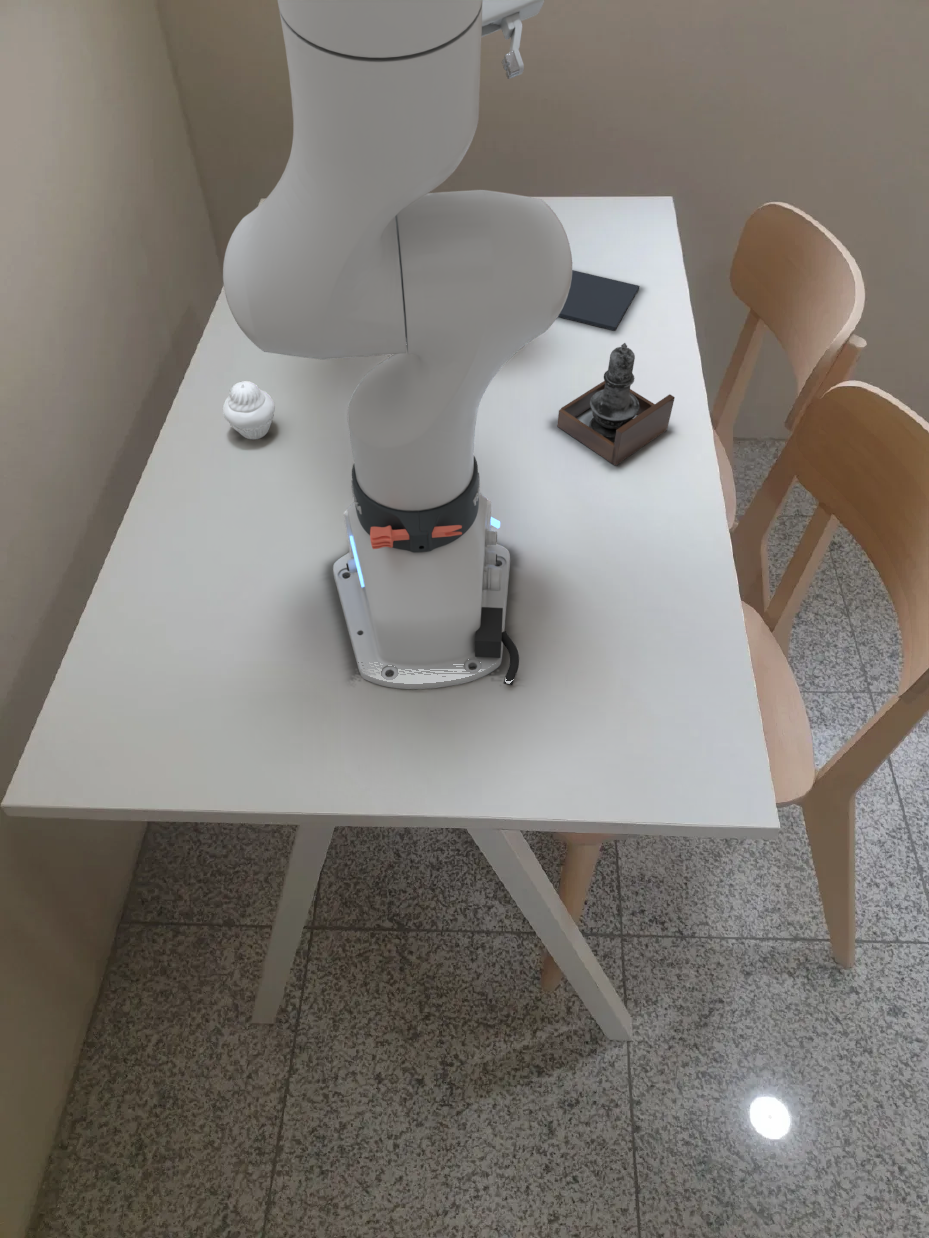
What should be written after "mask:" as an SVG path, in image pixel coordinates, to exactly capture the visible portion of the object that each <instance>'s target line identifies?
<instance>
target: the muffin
mask: <svg viewBox="0 0 929 1238" xmlns="http://www.w3.org/2000/svg"><path fill="white" fill-rule="evenodd" d="M275 411H276V404H275V400H274V399H273V398H272V396H271V395H270V394H269V393H268V392H267V391H265V390H263V389H260V387H259V385H257V383H255V382H252V381H250V380H248V381H247V380H243V381H239V382H236V383H235V384H233V385H232V386H231V388H230V389H229V396H228V397H226V399H225V401H224V402H223V406H222V414H223V417H224V418H225V420H226V421H227V422H228V424H229V426H231V428H232V429H233V430H235V431H236V432H238V433H239V434H240V435H241V436H242V437H243V438H245V439H248V440H251V441H252V440H259V439H261V438H263V437H265V436H266V435H267V434H268V433H269V429H270V427H271V425H272V423H273V420H274V416H275Z"/></svg>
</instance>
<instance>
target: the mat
mask: <svg viewBox="0 0 929 1238" xmlns="http://www.w3.org/2000/svg"><path fill="white" fill-rule="evenodd" d="M639 290H640V285H638V284H634V283H630V282H624V281H620V280H617V279H613V278H607V277H604V276H599V275H595V274H590V273H587V272H582V271H579V270H574V269H572V279H571V285H570V290H569V293H568V297H567V299H566V302H565V304H564V306H563V309H562V310H561V312H560V314H559V316H558V317H557V318H561V319H565V320H570V321H574V322H577V323H582V324H586V325H589V326H594V327H598V328H602V329H605V330H609V331H616V329H617V328H618V327H619V324H620V323H621V321H622V319H623V317H624V316H625V314H626V312H627V310H628V308H629V307H630V306H631V303H632V302H633V300H634V299H635V297H636V295H637V294H638V292H639Z"/></svg>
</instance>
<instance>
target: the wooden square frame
mask: <svg viewBox="0 0 929 1238" xmlns="http://www.w3.org/2000/svg"><path fill="white" fill-rule="evenodd" d="M604 388H605V381H604V380H603V381H602V382H600V383H599V384H597V385H595V386H594V387H592V388H591V389H589V390H587V391H586V392H584V393H583V394H580V395H579V396H577V397H576V398H574V399H573V400H572V401H570V402H568V403H567V404H565V405H563V406H562V407H560V408H559V409H558V415H557V424H556V426H557V427H558V428H559V429H560V430H561V431H563V432H565V433H567V434H568V435H569V436H571V437H572V438H573V439H575V440H576V441H578V442H579V443H581V444H583V445H584V446H586V448H588V449H590V450H591V451H593V452H594V453H596V454H597V455H599V456H600V457H602V458H603V459H605V460H606V461H608V462H609V463H611V464H612V465H613V466H616V467H617V466H618V465H619V464H620V463H622V462H624V461H625V460H627V459H628V458H629V457H631V456H632V455H633V454H635V453H637V452H638V451H639V450H640V449H642V448H644V447H645V446H646V445H648V444H649V443H651V442H652V441H653V440H655V439H656V438H658V437H659V436H661V435H662V434H663V433H665V432H667V431H668V428H669V423H670V420H671V415H672V411H673V406H674V402H675V398H676V397H675V396H674V395H672V394H670V393H669V394H667V395H666V396H664V397H663V398H662V399H660V400H658V401H657V402H655V403H653V402H652V401H650V400H649V399H648V398H646V397H644V396H642V395H641V394H639V393H638V392H636V391H634V390H633V389H631V388H630V392H629V393H631V394H632V395H634V396H635V397H636V398H637V400H638V401H639V411H638V412H637V414H636V415H637V416H634V418H633V419H632V420H631V421H629V422H628V423H626V424H625V425H623V426H622V427H620V428H619V429H617V430H616V436H615V442H611V441H610V440H608V439H607V438H605V437H604V436H602V435H601V434H599V433H598V432H596V431H595V430H593V429H592V428H590V427H589V425H587V424H585V423H584V422H582V421H581V420H579V419H578V418H577V417H579V416H580V415H581V414H583V413H584V412H585V413H586V411H588V410H589V409H591V407H590V400H591V398H592V396H593V395H594V394H595V393H597V392H598V391H601V390H604Z"/></svg>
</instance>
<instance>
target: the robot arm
mask: <svg viewBox="0 0 929 1238" xmlns="http://www.w3.org/2000/svg"><path fill="white" fill-rule="evenodd" d="M276 1H277V7H278V13H279V17H280V24H281V29H282V36H283V42H284V49H285V56H286V64H287V70H288V79H289V87H290V96H291V110H292V123H293V124H292V130H293V131H292V142H291V143H292V144H291V148H290V153H289V157H288V160H287V163H286V165H285V168H284V171H283V173H282V175H281V177H280V178H279V180H278V181H277V184H276V185H275V186H274V188H273V189H272V190H271V192H270V193H269V195H268V196H267V197H266V198H265V199H264V200H263V201H262V202H261V203H260V204H259V205H258V206H257V207H255V208H254V209H253V210H252V211H251V212H249V213H248V214H246V215H245V216H243V217H242V219H241V220H240V221H239V223H238V224H237V225H236V227H235V229H234V230H233V231H232V234H231V236H230V238H229V240H228V242H227V245H226V249H225V253H224V258H223V263H222V264H223V265H222V281H223V289H224V295H225V299H226V302H227V304H228V308H229V311H230V313H231V315H232V317H233V319H234V320H235V323H236V324H237V326H238V327H239V329H240V330H241V331H242V333H243V334H244V335H245V336H246V337H247V339H248V340H249V341H250V342H251V343H252V344H253V345H254V346H256V347H257V348H258V349H260V350H261V351H262V352H264V353H268V354H276V355H282V356H283V355H284V356H290V357H297V358H305V359H306V358H307V359H315V360H335V359H347V358H349V359H350V358H361V357H374V356H375V357H376V356H388V355H391V356H390V357H388V358H386V359H385V360H383V361H381V362H380V363H377V365H375V366H374V367H373V368H372V369H371V368H370V370H369V371H368V372H367V373H366V374H365V375H364V376H363V378H361V380H360V382H359V383H358V384H357V386H356V387H355V390H353V393H352V395H351V397H350V398H349V399H350V400H349V402H348V405H347V413H346V414H347V415H346V418H347V427H348V432H349V433H348V434H349V439H350V446H351V450H352V451H351V452H352V453H351V454H352V459H353V464H352V469H351V492H352V498H353V502H352V503H351V504H350V505H349V506H348V507H347V508H346V510H345V511H344V512H343V519H344V524H345V530H346V537H347V542H348V548H349V552H347V553H346V554H344V555H342V556H341V557H339V558H338V559H336V560H335V562H334V563H333V566H332V569H333V570H332V573H333V578H334V583H335V586H336V591H337V595H338V598H339V601H340V604H341V609H342V612H343V613H342V614H343V616H344V621H345V623H346V627H347V628H346V629H347V631H348V636H349V639H350V642H351V643H350V644H351V646H352V649H353V653H354V657H355V661H356V664H357V668H358V672H359V675H360V677H361V678H362V679H364V680H366V681H368V682H370V683H372V684H375V685H379V686H382V687H386V688H392V689H401V690H423V689H436V688H445V687H451V686H457V685H463V684H466V683H469V682H472V681H476V680H478V679H481V678H484V677H485V676H487V675H489V674H491V673H492V672H494V671H495V670H497V669H498V668H499V667H500V666H501V665H502V661H503V652H504V647H505V648H506V650H507V653H508V655H509V665H508V668H507V671H506V673H505V676H504V680H503V684H504V685H507V686H513V685H514V681H515V678H516V676H517V673H518V670H519V666H520V655H519V650H518V647H517V646H516V644H515V642H514V640H513V639H512V638H511V637H510V635H509V633H508V632H507V631H506V630H505V627H506V617H507V615H506V614H507V606H508V605H507V604H508V592H509V581H510V568H511V555H510V551H509V550H508V549H507V548H506V547H505V546H503V545H501V544H499V543H497V542H498V531H496V530H492V526H493V527H494V528H496V529H500V527H501V521H500V520H498V519H496V518H494V517H493V516H492V501H491V500H489V499H488V498H487V497H486V496H485V495H483V494H482V493H481V492H480V491H481V490H480V488H481V487H480V486H481V483H480V472H479V467H478V461H477V458H476V456H475V436H476V426H477V417H478V411H479V406H480V403H481V401H482V398H483V396H484V394H485V392H486V390H487V389H488V387H489V386H490V384H491V382H492V380H493V379H494V378H495V377H496V375H497V374H498V372H500V370H501V369H502V368H503V367H504V365H505V364H506V363H507V362H508V361H509V360H510V359H511V358H512V357H513V356H514V355H516V353H517V352H519V351H520V350H521V349H523V347H525V346H526V345H528V344H529V343H530V342H532V341H533V340H534V339H536V338H538V337H540V336H541V335H543V334H544V333H546V332H547V331H548V330H549V329H550V328H551V326H553V324H554V323H555V321H556V320H557V318H559V317H558V316H559V314H560V312H561V310H562V309H563V306H564V304H565V302H566V299H567V297H568V293H569V290H570V285H571V279H572V270H573V255H572V249H571V245H570V241H569V237H568V234H567V231H566V229H565V228H564V226H563V223H562V221H561V220H560V218H559V217H558V215H557V214H556V213H555V211H554V209H552V208H551V205H549V204H548V203H547V202H546V201H545V200H543V199H542V198H538V197H532V196H526V195H521V194H515V193H509V192H502V191H495V190H487V189H472V190H471V189H470V190H458V191H457V190H454V191H439V192H438V191H437V192H432V191H434V190H435V189H436V188H438V187H440V185H442V184H443V183H444V182H445V181H447V180H448V179H449V177H451V176H452V175H453V174H454V172H455V171H456V170H457V168H458V167H459V165H460V163H462V161H463V159H464V157H465V156H466V154H467V152H468V150H469V148H470V147H471V145H472V142H473V140H474V137H475V134H476V132H477V129H478V125H479V121H480V120H479V119H480V94H481V93H480V92H481V66H482V65H481V64H482V63H481V62H482V61H481V60H482V38H484V37H486V36H489V35H491V34H494V33H496V32H498V31H502V35H503V38H504V40H505V41H507V40H510V42H509V52H507V53H505V54H504V56H503V58H502V60H501V64H502V67H503V70H504V71H505V76H506V78H507V79H508V80H510V79H512V78H515V77H519V76H521V75H523V72H524V70H525V64H524V61H523V58H522V55H521V52H520V48H521V42H522V41H521V39H522V32H523V25H524V24H523V23H522V21H525V20H528V19H530V18H533V17H535V16H537V15H539V13H540V12H541V10H542V8H543V6H544V4H545V1H546V0H276ZM468 659H469V660H468ZM358 662H359V663H358ZM361 662H363V663H361ZM369 662H370V663H373V664H369ZM374 662H378V663H374ZM480 662H481V663H480ZM365 663H366V664H368V665H366V664H365ZM380 663H381V664H383V665H380ZM495 663H496V664H495ZM374 664H376V665H379V666H375V665H374ZM453 664H464V665H453ZM492 664H494V665H492ZM362 665H364V666H362ZM370 665H371V666H374V667H371V666H370ZM388 665H392V666H388ZM381 666H382V667H381ZM394 666H395V667H394ZM456 666H463V667H456ZM490 666H491V667H490ZM367 667H369V668H367ZM376 667H377V668H380V669H382V671H381V676H382V677H383V678H384V679H386V680H393V679H395V678H396V677H397V676H398V674H399V673H398V669H401V670H405V669H412V670H416V671H419V670H418V669H424V670H430V669H465V670H466V671H462V672H470V673H435V672H430V671H444V672H453V671H448V670H430V671H421V672H414V673H418V674H423V673H422V672H426V673H433V674H437V675H438V674H474V673H477V674H475V675H472V676H469V677H465V678H461V679H456V680H451V681H444V682H436V683H423V684H404V683H393V682H387V681H383V680H379V679H376V678H373V677H370V676H368V675H371V674H374V675H376V674H375V673H371V674H368V675H366V673H365V674H364V673H363V672H362V671H361V669H363V668H365V669H367V670H368V669H375V670H378V669H377V668H376ZM488 667H490V668H488ZM470 668H475V669H470ZM480 669H486V670H484V671H482V670H481V671H482V672H480V673H479V672H478V671H479V670H480ZM363 671H365V670H363ZM370 671H373V672H374V670H370ZM378 671H379V670H378ZM405 671H409V672H412V671H411V670H405ZM366 672H368V671H366ZM399 672H403V673H405V672H404V671H399ZM454 672H457V671H454ZM368 673H370V672H368ZM376 673H379V674H380V672H376ZM414 673H407V674H411V675H415V674H414ZM388 675H392V676H388ZM400 675H406V674H400ZM424 675H431V674H424ZM442 677H446V676H442ZM505 677H506V679H507V680H506V681H511V680H513V679H514V680H513V681H512V682H511V683H510V684H506V682H505Z"/></svg>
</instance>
